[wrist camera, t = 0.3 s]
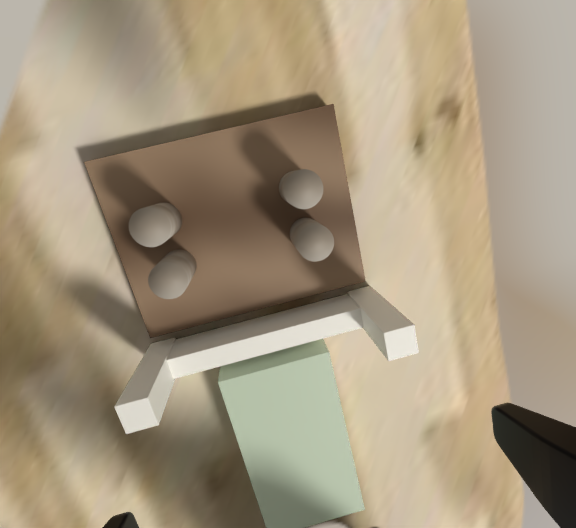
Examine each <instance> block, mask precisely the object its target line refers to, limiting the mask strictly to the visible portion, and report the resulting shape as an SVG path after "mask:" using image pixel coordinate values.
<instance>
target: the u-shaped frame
mask: <svg viewBox="0 0 576 528" xmlns="http://www.w3.org/2000/svg"><path fill="white" fill-rule="evenodd" d="M360 328H363V329H364V330H365V331H366V333H367V334H368V335H369V337H370V338H371V339H372V340H373V342H374V343H375V344H376V346H377V347H378V348H379V349H380V351H381V352H382V353H383V355H384V356H385V357H386V359H387V360H388V361H391V360H395V359H398V358H402V357H406V356H409V355H413V354H416V353H419V352H418V345H417V338H416V331H415V325H414V324H413V323H412V322H411V321H410V320H409V319H407V318H406V317H405V316H404V315H403V314H402V313H401V312H399V311H398V310H397V309H396V308H395V307H394V306H392V305H391V304H390V303H389V302H388V301H387V300H386V299H384V298H383V297H382V296H381V295H380V294H379V293H378V292H376V291H375V290H374V289H373V288H372V287H371V286H367V287H363V288H359V289H355V290H352V291H348V292H347V294H345V295H341V296H338V297H334V298H330V299H326V300H323V301H319V302H315V303H311V304H308V305H304V306H300V307H296V308H292V309H289V310H285V311H281V312H277V313H274V314H270V315H266V316H262V317H259V318H255V319H251V320H247V321H243V322H240V323H236V324H232V325H228V326H225V327H221V328H217V329H213V330H209V331H206V332H202V333H198V334H194V335H191V336H187V337H183V338H179V339H175V337H174V338H170V339H167V340H163V341H159V342H155V343H152V344H150V346H149V348H148V349H147V351H146V353H145V355H144V356H143V358H142V360H141V361H140V363H139V365H138V367H137V368H136V370H135V372H134V374H133V375H132V377H131V379H130V380H129V382H128V384H127V386H126V387H125V389H124V391H123V393H122V394H121V396H120V398H119V399H118V401H117V403H116V405H115V406H114V407H115V410H116V412H117V414H118V416H119V419H120V421H121V423H122V426H123V428H124V430H125V433H126V434H129V433H132V432H136V431H140V430H143V429H147V428H150V427H154V426H158V425H159V423H160V421H161V418H162V415H163V412H164V409H165V406H166V404H167V401H168V398H169V395H170V392H171V390H172V387H173V384H174V381H175V379H176V378H179V377H183V376H187V375H190V374H194V373H198V372H201V371H205V370H209V369H212V368H216V367H220V366H223V365H227V364H231V363H235V362H238V361H242V360H246V359H249V358H253V357H257V356H260V355H264V354H268V353H271V352H275V351H279V350H282V349H286V348H290V347H293V346H297V345H301V344H305V343H308V342H312V341H316V340H319V339H323V338H327V337H330V336H334V335H338V334H341V333H345V332H349V331H352V330H356V329H360Z"/></svg>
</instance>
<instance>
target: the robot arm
mask: <svg viewBox="0 0 576 528" xmlns="http://www.w3.org/2000/svg"><path fill="white" fill-rule="evenodd" d="M492 422H493V431H494V436H495V439H496V441H497V443H498V445H499V446H500V448H501V449H502V450H503V452H504V453H505V455H506V456H507V457H508V459H509V460H510V462H511V463H512V464H513V466H514V467H515V469H516V470H517V471H518V473H519V474H520V476H521V477H522V478H523V480H524V481H525V483H526V484H527V485H528V487H529V488H530V489H531V491H532V492H533V494H534V495H535V496H536V498H537V499H538V500H539V502H540V503H541V504H542V506H543V507H544V508H545V510H546V511H547V512H548V513H549V514H550V516H551V517H552V518H553V519H554V520H555V522H556V523H557V524H558V525H559V526H560V528H576V427H573V426H571V425H568V424H565V423H563V422H560V421H557V420H554V419H552V418H549V417H546V416H544V415H541V414H538V413H535V412H533V411H530V410H527V409H525V408H522V407H520V406H517V405H514V404H511V403H504V404H500V405H497V406H494V407H493V408H492ZM103 528H139V526H138V524H137V522H136V520H135V517H134V515H133V514H132V513H131V512H126V513H122V514H119V515H115V516H113V517H112V518H111V519H110V520H109V521H108V522H107V523H106V524H105V525H104V527H103Z"/></svg>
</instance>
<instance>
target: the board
mask: <svg viewBox="0 0 576 528" xmlns="http://www.w3.org/2000/svg"><path fill="white" fill-rule="evenodd" d="M218 384H219V387H220V390H221V393H222V396H223V399H224V402H225V405H226V408H227V411H228V414H229V417H230V420H231V423H232V426H233V429H234V432H235V435H236V438H237V441H238V444H239V447H240V450H241V454H242V457H243V460H244V463H245V466H246V469H247V472H248V475H249V478H250V481H251V484H252V487H253V490H254V493H255V496H256V499H257V502H258V505H259V508H260V511H261V514H262V517H263V520H264V523H265V526H266V528H306V527H309V526H313V525H316V524H319V523H322V522H326V521H329V520H332V519H336V518H339V517H342V516H345V515H349V514H352V513H355V512H359V511H362V510H365V508H364V504H363V499H362V495H361V491H360V486H359V482H358V477H357V473H356V469H355V464H354V460H353V455H352V451H351V446H350V442H349V438H348V433H347V429H346V424H345V420H344V416H343V411H342V407H341V402H340V398H339V393H338V389H337V385H336V380H335V376H334V371H333V367H332V363H331V358H330V354H329V351H328V349H327V346H326V344H325V342H324V340H323V339H319V340H316V341H312V342H308V343H305V344H301V345H297V346H293V347H290V348H286V349H282V350H279V351H275V352H271V353H268V354H264V355H260V356H257V357H253V358H249V359H246V360H242V361H238V362H235V363H231V364H227V365H223V366H220V371H219V378H218Z"/></svg>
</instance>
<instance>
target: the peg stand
mask: <svg viewBox="0 0 576 528" xmlns="http://www.w3.org/2000/svg"><path fill="white" fill-rule="evenodd" d="M84 163H85V166H86V168H87V171H88V174H89V176H90V179H91V182H92V184H93V187H94V190H95V192H96V195H97V198H98V200H99V203H100V206H101V208H102V211H103V213H104V216H105V219H106V221H107V224H108V227H109V229H110V232H111V235H112V237H113V240H114V243H115V245H116V248H117V251H118V253H119V256H120V259H121V261H122V264H123V267H124V269H125V272H126V275H127V277H128V280H129V283H130V285H131V288H132V291H133V293H134V296H135V299H136V301H137V304H138V307H139V309H140V312H141V314H142V317H143V320H144V322H145V325H146V328H147V330H148V333H149V336H150V338H153V337H156V336H160V335H164V334H168V333H171V332H175V331H179V330H183V329H187V328H190V327H194V326H198V325H202V324H206V323H209V322H213V321H217V320H221V319H225V318H228V317H232V316H236V315H240V314H243V313H247V312H251V311H255V310H259V309H262V308H266V307H270V306H274V305H278V304H281V303H285V302H289V301H293V300H297V299H300V298H304V297H308V296H312V295H315V294H319V293H323V292H327V291H331V290H334V289H338V288H342V287H346V286H350V285H353V284H357V283H361V282H365V276H364V270H363V265H362V259H361V254H360V248H359V243H358V237H357V232H356V226H355V221H354V215H353V210H352V204H351V199H350V193H349V188H348V182H347V176H346V171H345V165H344V160H343V154H342V149H341V143H340V138H339V132H338V127H337V121H336V116H335V110H334V105H333V104H331V105H326V106H322V107H318V108H313V109H309V110H305V111H301V112H296V113H292V114H288V115H283V116H279V117H275V118H270V119H266V120H262V121H258V122H253V123H249V124H245V125H240V126H236V127H232V128H228V129H223V130H219V131H215V132H210V133H206V134H202V135H198V136H193V137H189V138H185V139H180V140H176V141H172V142H168V143H163V144H159V145H155V146H150V147H146V148H142V149H138V150H133V151H129V152H125V153H120V154H116V155H112V156H108V157H103V158H99V159H95V160H90V161H86V162H84Z"/></svg>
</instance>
